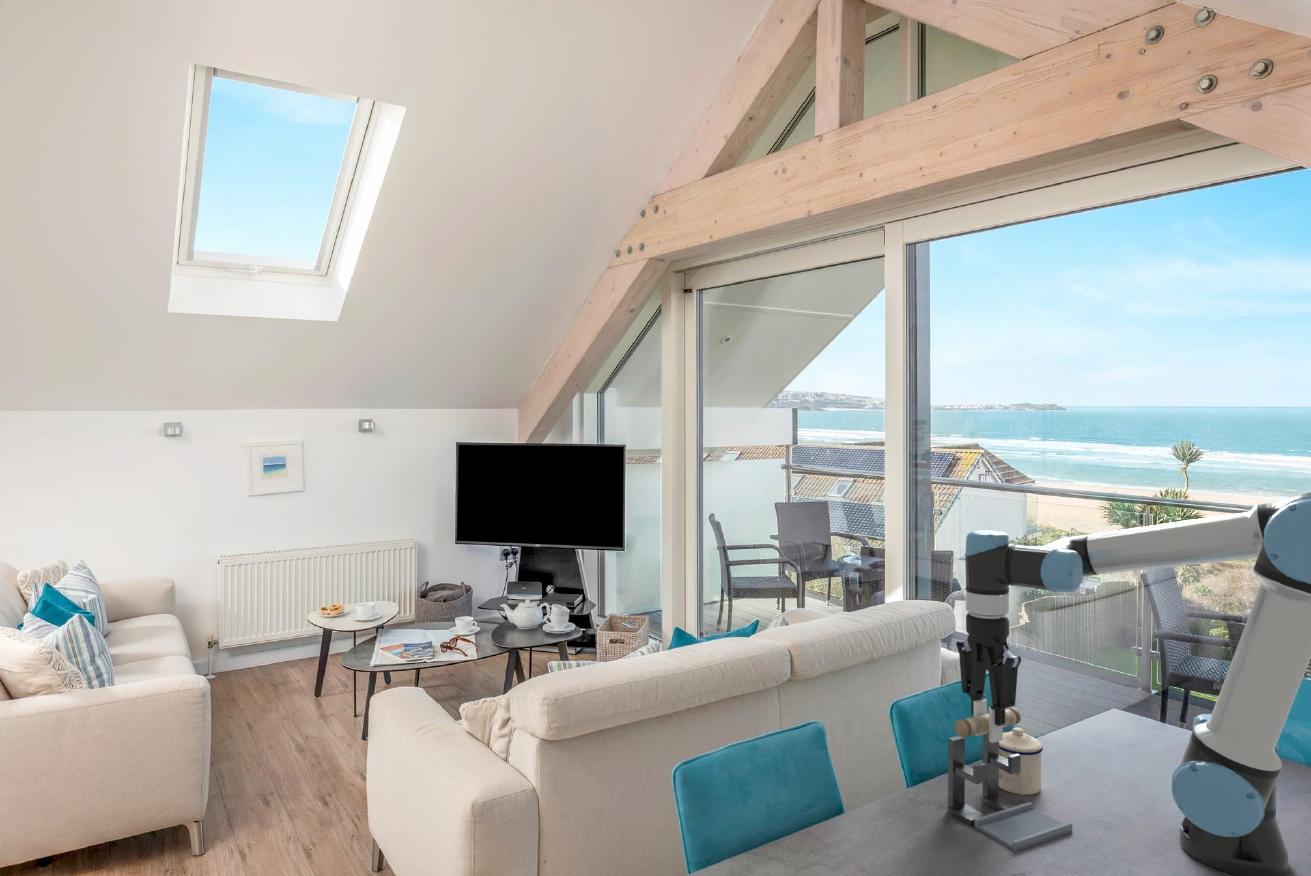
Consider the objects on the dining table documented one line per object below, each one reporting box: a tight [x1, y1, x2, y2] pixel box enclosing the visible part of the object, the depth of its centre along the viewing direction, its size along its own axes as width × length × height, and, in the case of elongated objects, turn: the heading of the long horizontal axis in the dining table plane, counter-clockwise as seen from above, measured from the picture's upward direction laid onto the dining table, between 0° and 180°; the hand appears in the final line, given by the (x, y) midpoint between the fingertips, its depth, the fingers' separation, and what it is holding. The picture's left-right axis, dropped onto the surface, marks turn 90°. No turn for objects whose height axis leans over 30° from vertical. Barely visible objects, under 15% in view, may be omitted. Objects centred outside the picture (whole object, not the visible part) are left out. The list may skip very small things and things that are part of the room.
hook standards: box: [947, 731, 1021, 827], centre depth 154 cm, size 6×13×14 cm, turn 116°
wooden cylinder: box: [953, 706, 1022, 738], centre depth 153 cm, size 14×3×3 cm, turn 115°
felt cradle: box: [974, 801, 1073, 852], centre depth 147 cm, size 9×14×2 cm, turn 116°
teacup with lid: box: [999, 727, 1044, 796], centre depth 164 cm, size 12×9×12 cm
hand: (988, 737), depth 153 cm, fingers closed on wooden cylinder, 3 cm apart
